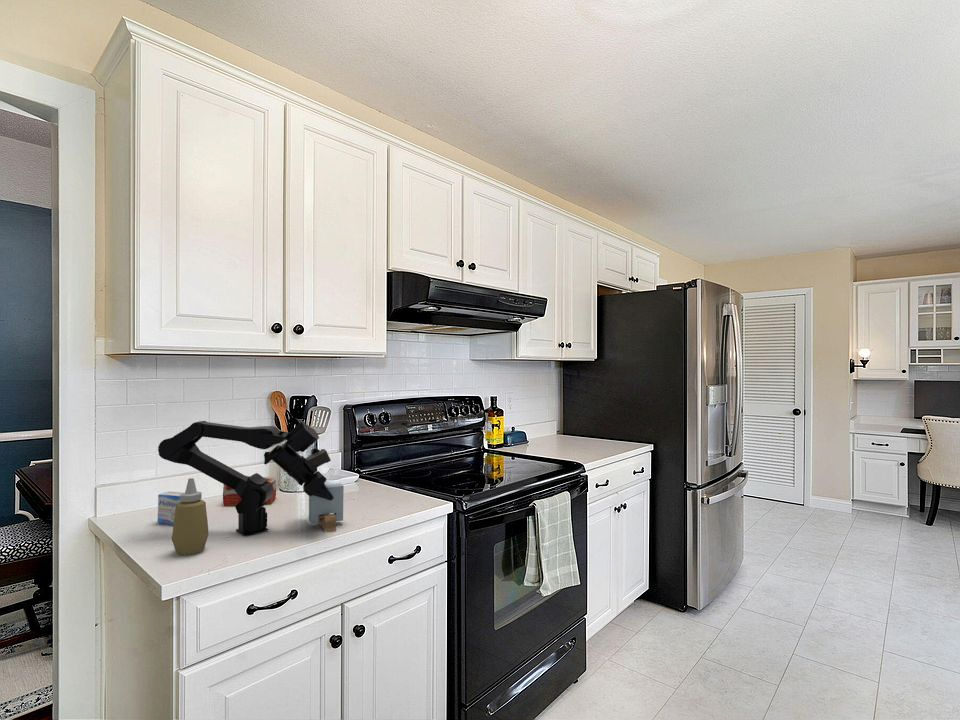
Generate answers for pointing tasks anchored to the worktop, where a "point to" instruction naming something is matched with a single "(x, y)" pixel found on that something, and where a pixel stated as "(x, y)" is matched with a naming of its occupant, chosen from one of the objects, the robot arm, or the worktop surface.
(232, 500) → the medicine box
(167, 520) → the medicine box
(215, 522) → the worktop surface
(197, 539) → the squeeze bottle
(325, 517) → the tan stepped bar
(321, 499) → the grey slotted plate
